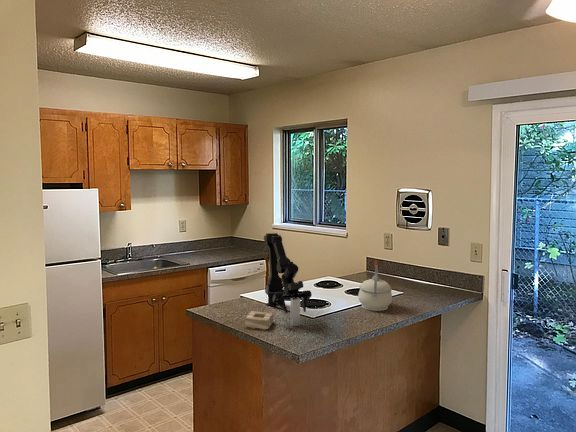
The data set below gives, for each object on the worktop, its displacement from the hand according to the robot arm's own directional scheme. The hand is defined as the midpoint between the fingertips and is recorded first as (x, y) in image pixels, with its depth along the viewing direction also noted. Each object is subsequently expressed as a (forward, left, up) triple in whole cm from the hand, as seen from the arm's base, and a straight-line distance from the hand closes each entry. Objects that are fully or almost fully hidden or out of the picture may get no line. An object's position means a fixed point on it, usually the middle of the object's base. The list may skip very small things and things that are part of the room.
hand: (296, 312), depth 224 cm
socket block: (+8, -16, -7) cm, 19 cm away
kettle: (-51, +23, -7) cm, 57 cm away
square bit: (-1, -1, -7) cm, 7 cm away
